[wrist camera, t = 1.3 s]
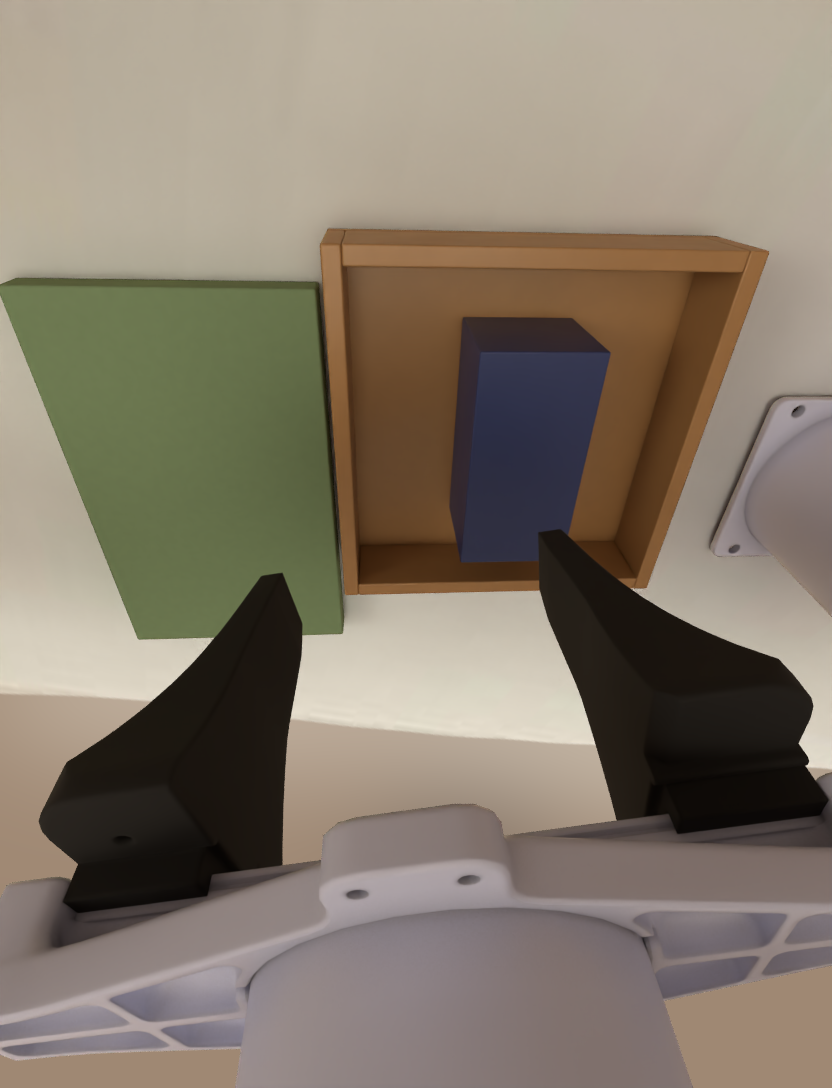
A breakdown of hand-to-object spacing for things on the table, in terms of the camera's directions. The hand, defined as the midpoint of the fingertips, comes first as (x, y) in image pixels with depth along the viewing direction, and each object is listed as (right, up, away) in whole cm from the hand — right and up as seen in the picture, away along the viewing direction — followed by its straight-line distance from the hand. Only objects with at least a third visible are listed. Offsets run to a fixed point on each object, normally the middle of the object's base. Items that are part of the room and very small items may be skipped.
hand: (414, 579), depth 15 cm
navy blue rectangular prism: (+4, +6, +7) cm, 9 cm away
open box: (+4, +6, +7) cm, 10 cm away
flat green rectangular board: (-9, +4, +8) cm, 12 cm away
